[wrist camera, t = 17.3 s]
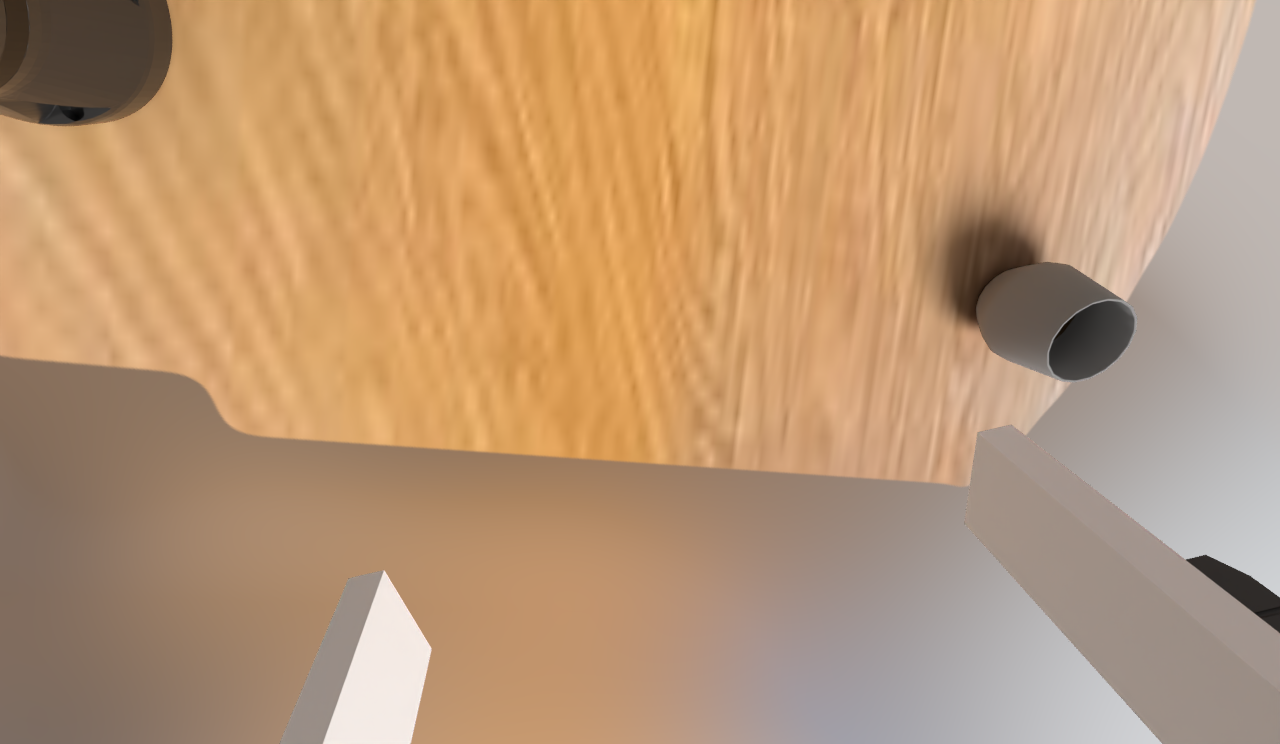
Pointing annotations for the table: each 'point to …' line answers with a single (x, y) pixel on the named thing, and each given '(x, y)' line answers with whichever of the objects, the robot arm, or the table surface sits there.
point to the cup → (1055, 321)
